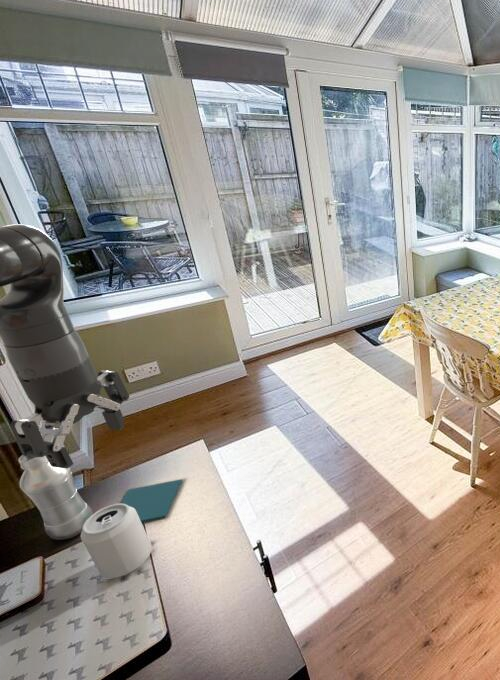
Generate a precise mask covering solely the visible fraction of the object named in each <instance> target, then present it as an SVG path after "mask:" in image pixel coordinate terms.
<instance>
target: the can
mask: <svg viewBox="0 0 500 680" xmlns="http://www.w3.org/2000/svg"><path fill="white" fill-rule="evenodd" d="M82 530H83V531H82V532H81V533H80V536H79V537H80V540H81V541H82V542H81V543H83V546H84V547H85V549H86V551H87V553H88V555H89V556H90V558H91V560H92V562H93V564H94V565H95V567H96V569H97V571H98V573H99V575H100V576H101V577H102V578H104V579H110V580H111V579H116V578H117V579H118V578H121V577H124V576H127V575H129V574H131V573H132V572H134V571H135V570H137V569H138V568H139V567H140V566H142V565H143V563H145V561H146V560H147V559H148V557H150V555H151V552H152V551H153V550H152V549H153V544H152V543H151V541H150V538H149V536H148V534H147V532H146V529H145V527H144V525H143V522H142V523H141V521H140V518H139V516H138V514H137V512H136V510H135V508H133V507H130V506H128V505H126V504H121V502H119V503H114V504H110V505H108V506H107V505H106V506H104V507H103V508H100V509H98V510H97V511H95V512H94V513H93V515H92V516H90V517H89V518H88V519H87V520H86V522H85V523H84V525H83V528H82Z"/></svg>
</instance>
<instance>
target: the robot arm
mask: <svg viewBox="0 0 500 680" xmlns="http://www.w3.org/2000/svg"><path fill="white" fill-rule="evenodd" d="M8 285H10V286H9V291H8V292H7V293H6V294H5V295H4V296H3V297H1V298H0V340H1V342H2V344H3V346H4V350H5V352H6V358H7V359H8V362H9V363H10V366H11V367H12V369H13V371H14V373H15V375H16V378H17V380H18V381H19V383H20V385H21V387H22V389H23V390H24V393H25V395H26V397H27V398H28V400H30V402H31V403H32V404H33V405H34V413H33V414H31V415H29V416H26V417H25V418H22V419H14V420H12V421H10V425H9V428H10V429H11V432H12V435H13V436H14V438H15V441H16V444H17V446H18V448H19V451H20V452H21V455H24V456H36V457H44V456H46V458H47V459H48V461H49V463H50V465H51V466H52V467H57V468H69V467H70V468H71V467H72V466H73V465H74V462H73V459H72V458H71V456H70V454H69V452H68V450H67V448H66V446H64V443H65V439H66V437H67V435H69V434H70V432H71V430H72V428H73V424H76V423H78V422H80V421H81V420H82V419H83V418H84V417H85V416H88V415H90V414H93V412H95V409H96V408H97V409H99V410H102V411H101V414H102V417H103V419H104V421H105V423H106V425H107V428H108V429H109V430H111V431H121V430H122V429H123V428H125V425H124V424H125V418H124V416H123V413H122V411H121V407H122V404H123V402H126V401H128V400H129V399H130V394H129V393H128V390H127V388H126V386H125V384H124V382H123V380H122V378H121V376H120V374H119V372H118V371H114V370H113V371H112V370H111V371H110V370H100V371H99V372H98V373H97V372H96V371H97V370H96V369H95V366H94V364H93V362H92V360H91V358H90V355H89V353H88V350H87V348H86V345H85V343H84V341H83V339H82V338H81V336H80V335H79V333H78V331H77V330H76V328H75V326H74V323H73V321H72V319H71V317H70V314H69V312H68V310H67V307H66V305H65V303H64V292H65V291H64V290H65V289H64V269H63V259H62V256H61V252H60V250H59V248H58V245H56V243H55V241H53V239H52V238H51V237H50V236H49V235H48V234H47V233H45V232H44V231H42V230H41V229H39V228H38V227H37V228H36V227H34V226H32V225H28V224H22V223H21V224H20V223H19V224H18V223H15V224H8V225H4V226H0V288H2V287H5V286H8ZM102 387H103V389H104V391H105V393H106V394H107V396H108V398H106V397H103V396H100V395H101V390H102ZM41 422H42V424H41ZM55 424H57V425H60V426H59V428H58V427H55Z"/></svg>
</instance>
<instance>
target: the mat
mask: <svg viewBox="0 0 500 680" xmlns="http://www.w3.org/2000/svg"><path fill="white" fill-rule="evenodd" d="M182 483H183V479H175V480H171V481H167V482H161V483H156V484H151V485H146V486H141V487H137V488H131V489H128V490H127V492H126V494H125V496H123V498H122V500H121V502H120V504H126V505H128V506H130V507H133V508H135V510H136V512H137V514H138V516H139V518H140V521H141V523H142V524H143V523H146V522H147V523H148V522H150V521H156V520H161V519H163V518H164V519H165V518H167V515H168V514H169V511H170V509H171V507H172V504H173V502H174V501H175V498H176V496H177V494H178V492H179V489H180V487H181V486H182Z"/></svg>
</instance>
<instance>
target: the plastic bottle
mask: <svg viewBox="0 0 500 680" xmlns="http://www.w3.org/2000/svg"><path fill="white" fill-rule="evenodd" d="M18 463H19V464H20V468H21V470H24V471H23V472H22V475H21V476H20V479H19V488H20V490H21V491H22V492H23V493H24V494H26V496H27V497H28V498H29V499H30V500H31V501H32V502H33V504H34V505H35V507H36V508H37V510H38V511H39V513H40V516H41V519H42V521H43V527H44V531H45V534H46V535H47V536H48V537H49V538H51V540H56V541H65V540H70V539H72V538H75V537H76V536H78V535H81V532H82V531H83V530H82V528H83V525H84V523H85V522H86V520H87V519H88V518H89V517H90V516H92V515H93V514H94V513H93V509H92V507H90V505H89V504H88V503H86V502H85V501H84V499H83V497H82V496H81V495H80V494H79V492H78V490H77V487H76V485H75V482H74V479H73V473H72V469H71V466H70V467H69V468H57V467H52V466H51V465H50V463H49V461H48V459H47V458H46V456H44V457H36V456H24V455H23V454H21V456H20V457H19V458H18Z"/></svg>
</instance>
